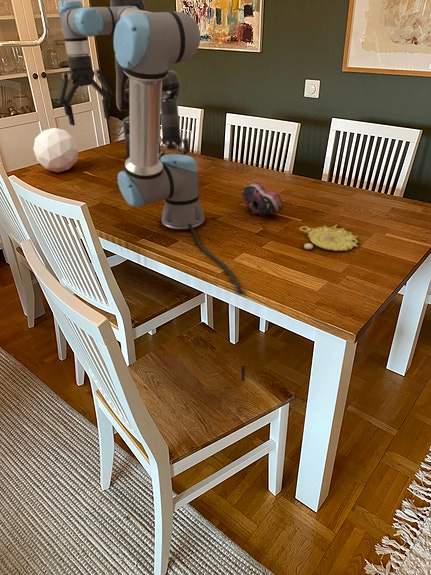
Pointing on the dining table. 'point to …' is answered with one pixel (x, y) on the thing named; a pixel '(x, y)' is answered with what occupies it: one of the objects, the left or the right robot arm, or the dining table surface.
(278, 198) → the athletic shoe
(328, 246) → the decorative object
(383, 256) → the dining table surface
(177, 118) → the left robot arm
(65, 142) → the sphere
